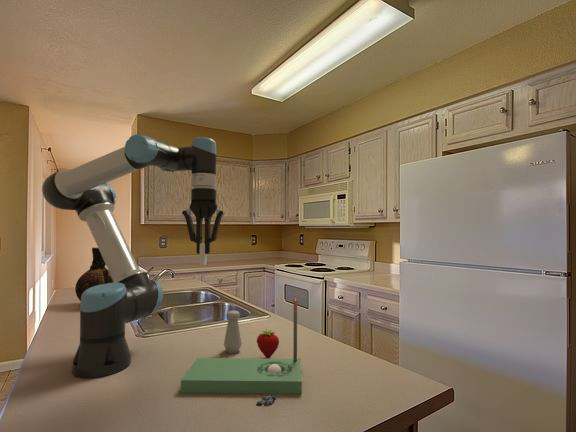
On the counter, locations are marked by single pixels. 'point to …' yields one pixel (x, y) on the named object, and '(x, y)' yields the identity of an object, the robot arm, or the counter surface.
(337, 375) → the counter surface
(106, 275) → the ceramic vessel
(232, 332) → the salt shaker
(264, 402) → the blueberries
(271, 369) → the white ball
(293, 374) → the board
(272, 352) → the strawberry
